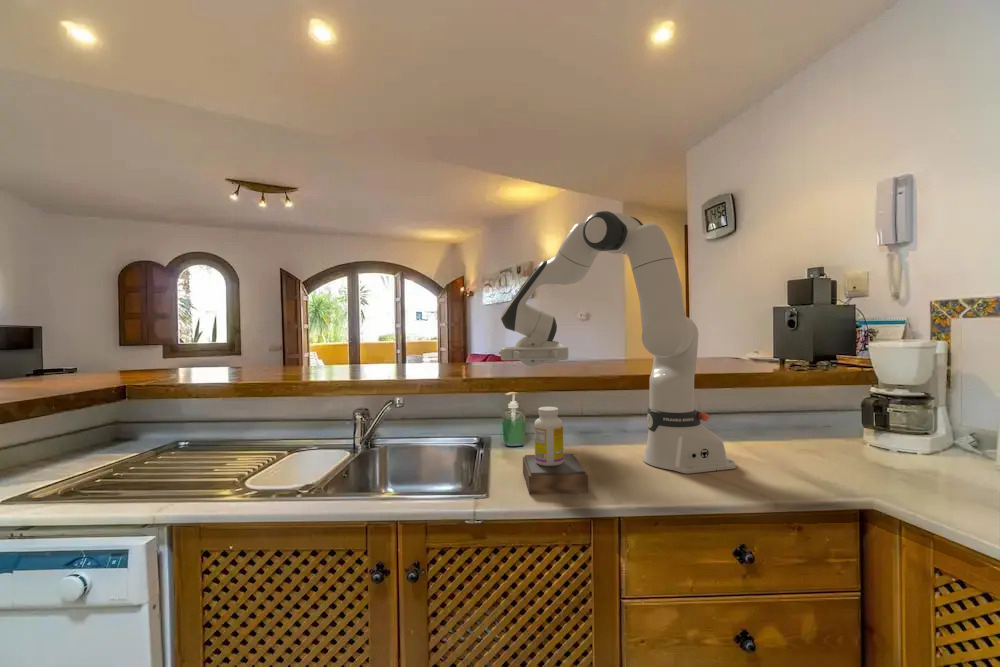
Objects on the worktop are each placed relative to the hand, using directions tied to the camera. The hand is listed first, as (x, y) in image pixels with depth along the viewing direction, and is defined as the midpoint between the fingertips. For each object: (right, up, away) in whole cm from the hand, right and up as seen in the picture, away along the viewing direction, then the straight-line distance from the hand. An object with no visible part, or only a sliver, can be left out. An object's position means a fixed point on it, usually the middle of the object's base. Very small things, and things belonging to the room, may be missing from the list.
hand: (537, 355), depth 128 cm
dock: (+2, -29, -22) cm, 36 cm away
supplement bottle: (+1, -24, -22) cm, 33 cm away
